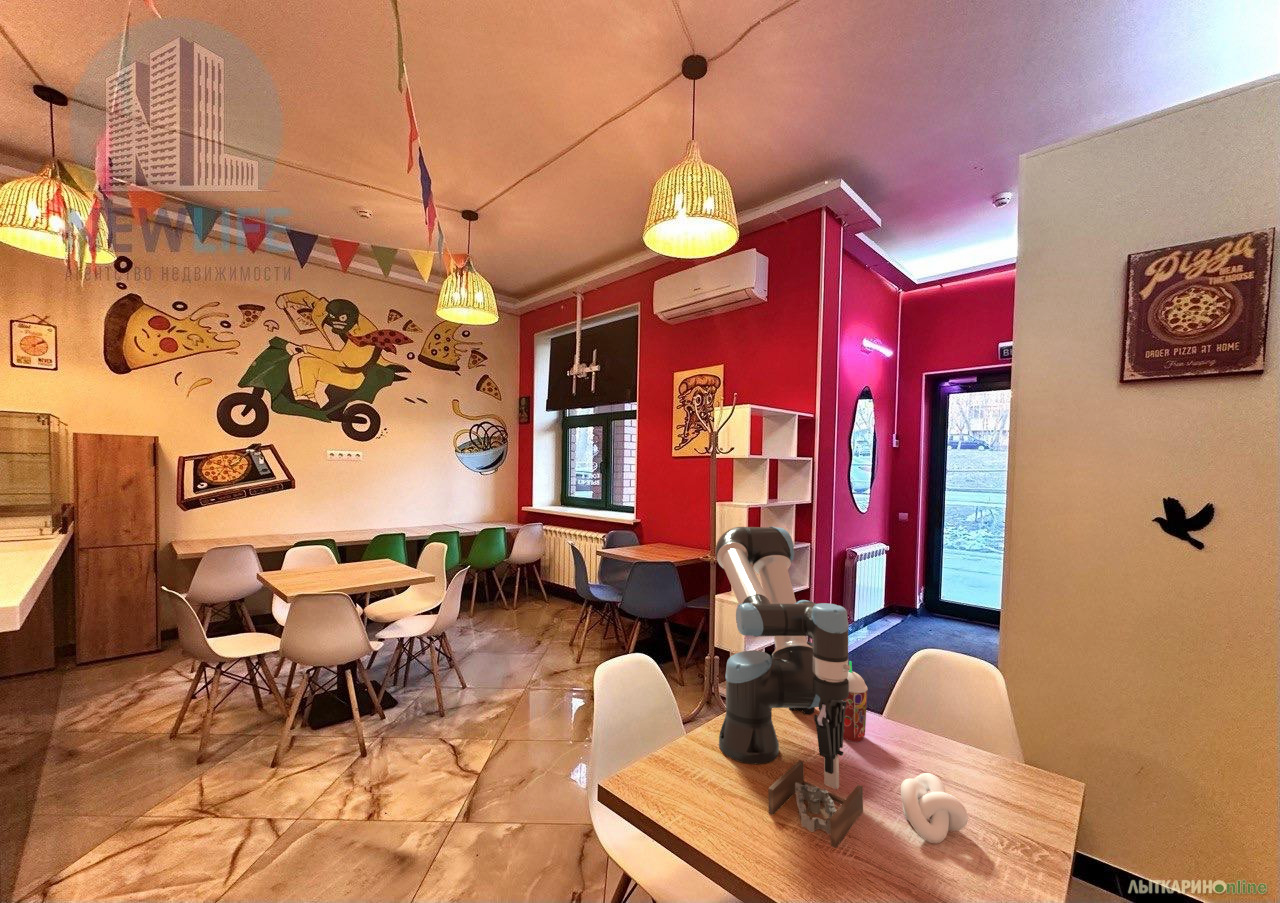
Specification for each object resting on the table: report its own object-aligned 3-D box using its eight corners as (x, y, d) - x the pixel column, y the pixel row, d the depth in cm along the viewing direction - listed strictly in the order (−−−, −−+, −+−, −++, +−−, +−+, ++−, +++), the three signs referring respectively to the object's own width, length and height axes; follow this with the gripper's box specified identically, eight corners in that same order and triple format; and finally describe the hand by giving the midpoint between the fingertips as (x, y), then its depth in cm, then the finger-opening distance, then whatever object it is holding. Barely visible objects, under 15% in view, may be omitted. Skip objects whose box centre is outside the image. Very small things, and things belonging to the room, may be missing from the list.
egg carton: (839, 838, 95) (839, 816, 95) (799, 831, 96) (798, 810, 96) (830, 803, 105) (830, 783, 105) (794, 797, 107) (794, 778, 107)
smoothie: (873, 745, 128) (872, 667, 129) (842, 744, 128) (841, 666, 130) (860, 729, 136) (859, 656, 138) (830, 728, 137) (829, 655, 138)
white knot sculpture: (884, 807, 104) (883, 763, 104) (941, 809, 103) (940, 765, 104) (912, 846, 92) (911, 797, 93) (976, 849, 92) (975, 799, 93)
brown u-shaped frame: (768, 812, 101) (768, 787, 101) (799, 782, 112) (799, 759, 112) (836, 848, 92) (835, 820, 92) (863, 811, 102) (862, 786, 102)
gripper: (836, 689, 102) (837, 807, 100) (857, 672, 111) (859, 779, 110) (801, 679, 107) (802, 791, 105) (825, 664, 116) (826, 766, 115)
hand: (831, 785), depth 108 cm, fingers closed
